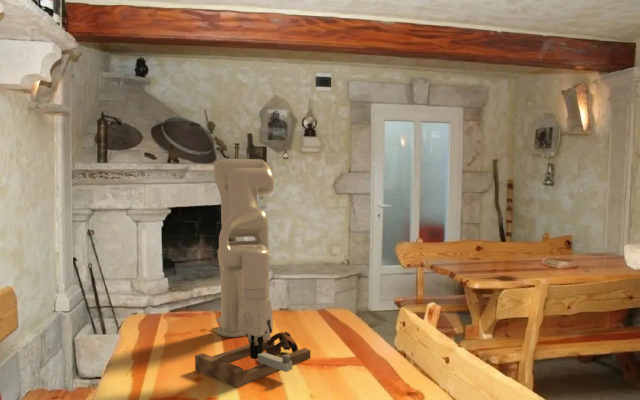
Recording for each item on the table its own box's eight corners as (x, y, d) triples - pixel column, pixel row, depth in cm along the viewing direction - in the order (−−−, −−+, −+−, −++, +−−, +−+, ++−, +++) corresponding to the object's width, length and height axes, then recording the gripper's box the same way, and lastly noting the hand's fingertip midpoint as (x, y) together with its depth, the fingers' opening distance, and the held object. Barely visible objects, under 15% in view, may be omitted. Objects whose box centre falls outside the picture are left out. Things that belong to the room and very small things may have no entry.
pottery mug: (300, 364, 154) (286, 342, 152) (272, 376, 156) (258, 354, 154) (304, 341, 166) (291, 320, 164) (278, 352, 168) (265, 332, 166)
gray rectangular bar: (257, 362, 147) (257, 348, 147) (264, 359, 149) (263, 346, 148) (285, 372, 140) (285, 357, 139) (292, 369, 141) (292, 355, 141)
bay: (195, 370, 148) (195, 355, 148) (269, 345, 170) (269, 331, 169) (236, 387, 136) (236, 370, 136) (310, 358, 158) (310, 343, 158)
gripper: (228, 291, 150) (228, 355, 151) (263, 299, 140) (264, 367, 141) (248, 287, 155) (249, 348, 156) (284, 294, 146) (284, 360, 147)
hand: (256, 357), depth 149 cm, fingers closed
